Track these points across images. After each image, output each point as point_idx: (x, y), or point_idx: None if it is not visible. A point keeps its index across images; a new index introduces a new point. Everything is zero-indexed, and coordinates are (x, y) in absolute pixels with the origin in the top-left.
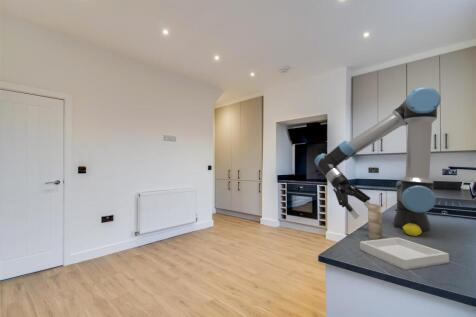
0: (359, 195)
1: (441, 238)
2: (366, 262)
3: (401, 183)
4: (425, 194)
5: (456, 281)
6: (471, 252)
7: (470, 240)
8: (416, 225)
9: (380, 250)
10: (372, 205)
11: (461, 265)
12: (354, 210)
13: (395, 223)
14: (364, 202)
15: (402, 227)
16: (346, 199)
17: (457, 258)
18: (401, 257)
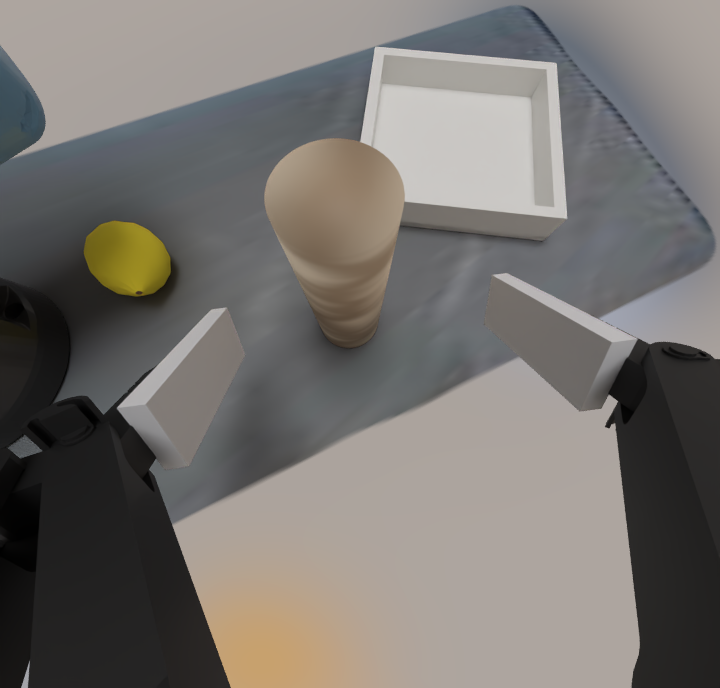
0: (149, 556)
1: (101, 203)
2: (603, 162)
3: None
4: None
5: (475, 34)
6: (210, 97)
7: (41, 151)
8: (106, 224)
9: (559, 133)
10: (376, 189)
11: (360, 66)
12: (542, 296)
13: (17, 410)
14: (152, 475)
15: (142, 291)
16: (706, 391)
17: (310, 89)
18: (548, 75)
